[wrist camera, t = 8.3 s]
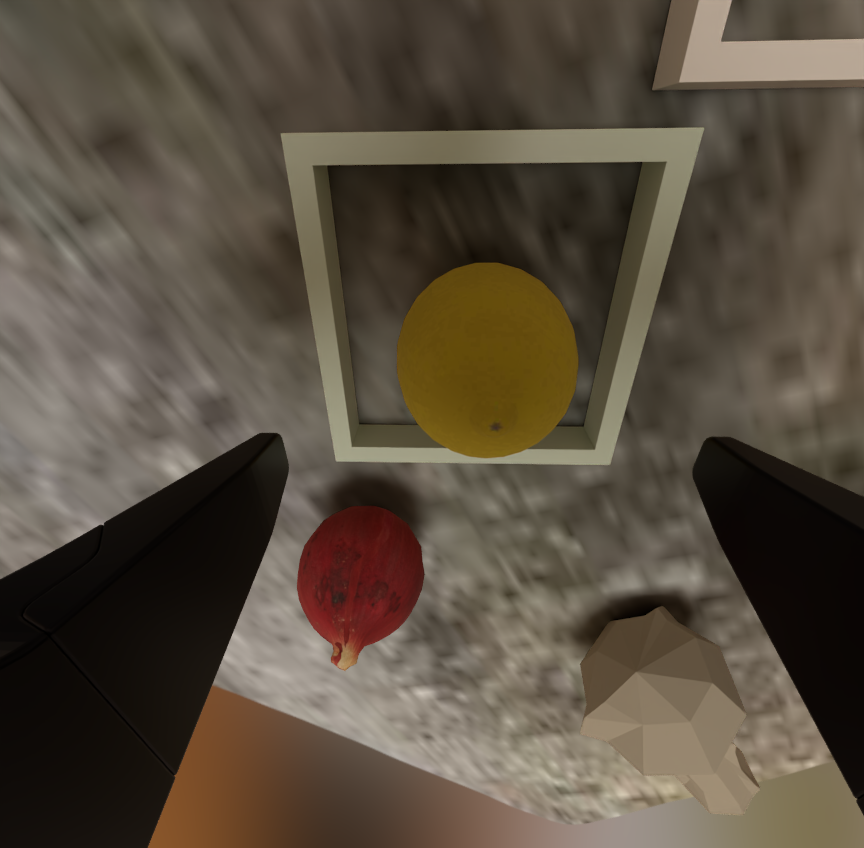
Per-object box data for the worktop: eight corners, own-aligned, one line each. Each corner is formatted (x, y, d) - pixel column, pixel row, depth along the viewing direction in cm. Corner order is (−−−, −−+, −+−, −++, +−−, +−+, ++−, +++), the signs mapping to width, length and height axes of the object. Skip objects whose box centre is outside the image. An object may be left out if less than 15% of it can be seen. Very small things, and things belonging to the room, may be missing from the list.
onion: (309, 474, 22) (246, 620, 15) (421, 469, 21) (408, 618, 14) (333, 550, 25) (290, 700, 18) (431, 548, 24) (424, 700, 18)
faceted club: (707, 576, 24) (770, 728, 36) (559, 584, 28) (660, 717, 40) (754, 773, 17) (811, 877, 30) (555, 744, 22) (675, 844, 34)
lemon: (407, 374, 18) (382, 504, 12) (409, 236, 15) (377, 304, 9) (534, 382, 18) (582, 516, 12) (562, 245, 15) (650, 321, 9)
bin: (675, 130, 13) (704, 127, 12) (597, 441, 20) (609, 464, 18) (298, 134, 14) (280, 132, 12) (344, 438, 20) (336, 461, 19)
